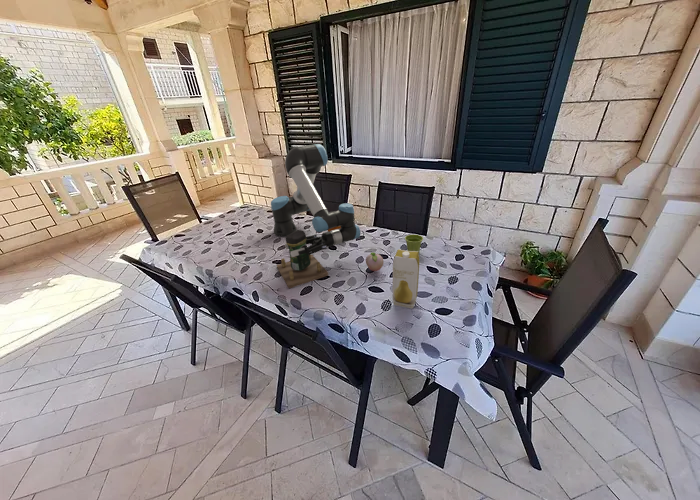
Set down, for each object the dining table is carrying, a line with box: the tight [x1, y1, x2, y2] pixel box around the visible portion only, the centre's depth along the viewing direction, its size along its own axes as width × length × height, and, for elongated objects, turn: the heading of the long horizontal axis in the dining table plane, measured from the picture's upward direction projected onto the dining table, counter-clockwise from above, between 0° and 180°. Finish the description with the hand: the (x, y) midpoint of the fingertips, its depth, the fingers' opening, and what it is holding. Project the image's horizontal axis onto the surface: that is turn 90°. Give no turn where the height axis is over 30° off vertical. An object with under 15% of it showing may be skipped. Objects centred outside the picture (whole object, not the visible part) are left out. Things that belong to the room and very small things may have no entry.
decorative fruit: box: [365, 251, 385, 272], centre depth 130 cm, size 9×8×10 cm
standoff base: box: [276, 254, 330, 289], centre depth 135 cm, size 22×20×6 cm
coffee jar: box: [285, 229, 311, 271], centre depth 131 cm, size 10×8×19 cm
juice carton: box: [392, 249, 420, 309], centre depth 105 cm, size 9×8×24 cm
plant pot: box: [404, 233, 424, 254], centre depth 144 cm, size 9×9×9 cm
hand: (288, 250), depth 129 cm, fingers closed on coffee jar, 8 cm apart
